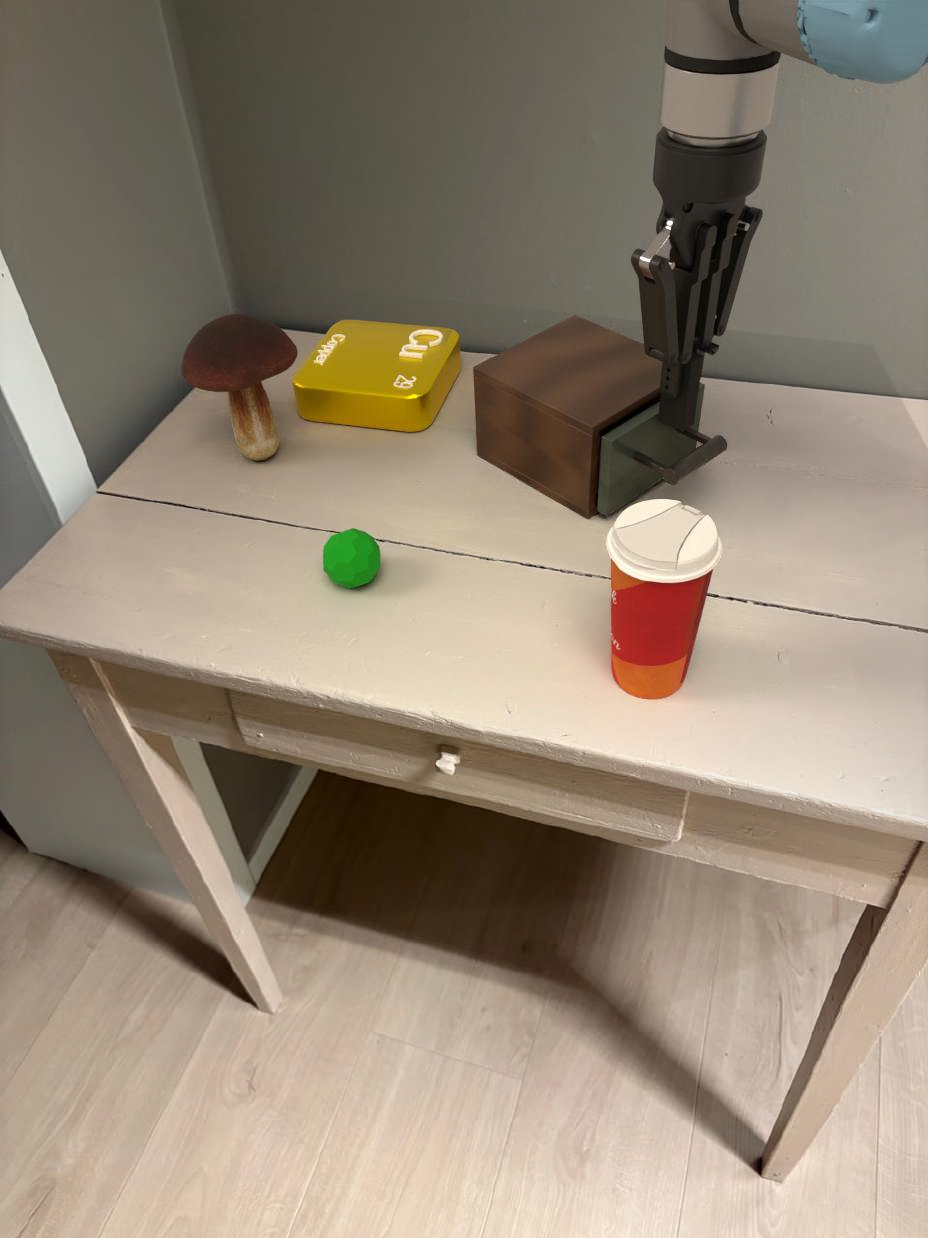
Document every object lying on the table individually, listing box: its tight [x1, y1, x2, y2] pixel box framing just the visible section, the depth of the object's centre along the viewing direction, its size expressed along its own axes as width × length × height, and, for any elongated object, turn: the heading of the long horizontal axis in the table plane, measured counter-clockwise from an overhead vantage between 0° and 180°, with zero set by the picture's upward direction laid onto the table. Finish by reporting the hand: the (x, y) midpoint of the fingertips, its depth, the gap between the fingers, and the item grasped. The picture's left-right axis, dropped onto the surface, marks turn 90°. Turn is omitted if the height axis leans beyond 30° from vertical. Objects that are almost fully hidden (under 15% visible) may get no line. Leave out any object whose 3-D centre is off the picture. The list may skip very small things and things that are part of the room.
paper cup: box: [605, 498, 723, 700], centre depth 68 cm, size 8×8×14 cm
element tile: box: [291, 319, 462, 433], centre depth 103 cm, size 15×15×5 cm
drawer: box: [595, 381, 729, 517], centre depth 88 cm, size 19×13×8 cm
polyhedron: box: [322, 527, 381, 589], centre depth 81 cm, size 5×5×5 cm
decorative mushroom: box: [180, 313, 299, 462], centre depth 92 cm, size 11×11×15 cm
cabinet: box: [472, 314, 662, 520], centre depth 91 cm, size 15×14×10 cm
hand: (675, 421), depth 82 cm, fingers closed
